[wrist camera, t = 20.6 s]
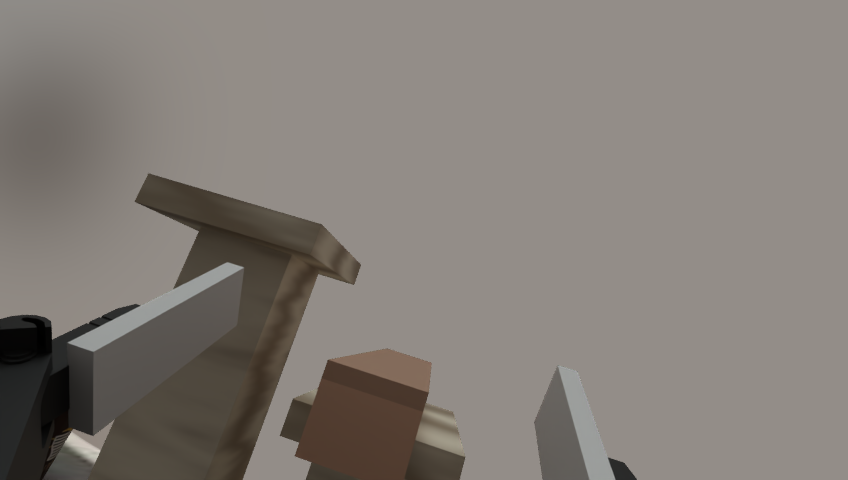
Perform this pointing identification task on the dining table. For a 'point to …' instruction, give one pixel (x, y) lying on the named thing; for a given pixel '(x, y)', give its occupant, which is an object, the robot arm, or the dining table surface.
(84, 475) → the dining table surface
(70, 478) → the dining table surface
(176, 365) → the robot arm
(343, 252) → the two-tier stand
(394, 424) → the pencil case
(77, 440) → the dining table surface
